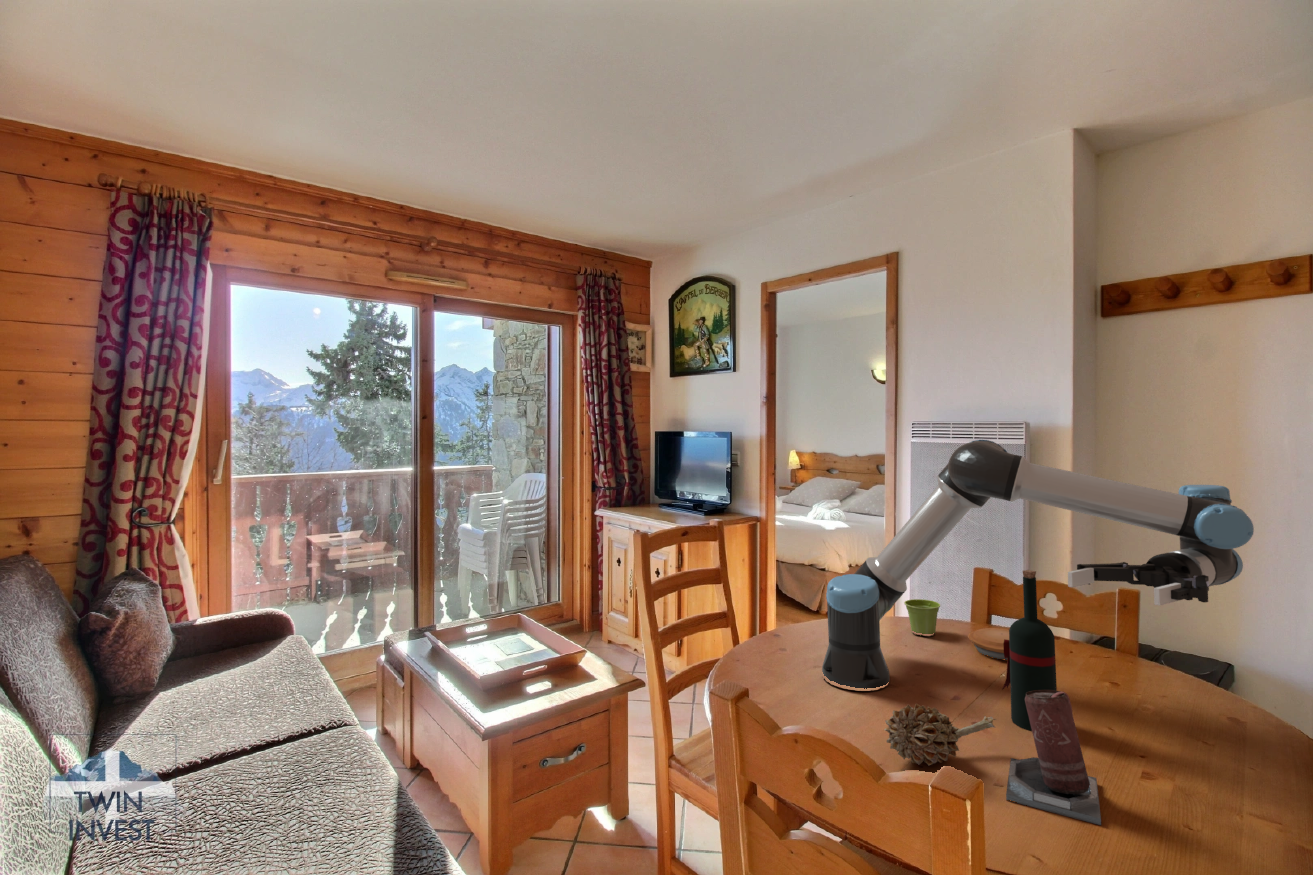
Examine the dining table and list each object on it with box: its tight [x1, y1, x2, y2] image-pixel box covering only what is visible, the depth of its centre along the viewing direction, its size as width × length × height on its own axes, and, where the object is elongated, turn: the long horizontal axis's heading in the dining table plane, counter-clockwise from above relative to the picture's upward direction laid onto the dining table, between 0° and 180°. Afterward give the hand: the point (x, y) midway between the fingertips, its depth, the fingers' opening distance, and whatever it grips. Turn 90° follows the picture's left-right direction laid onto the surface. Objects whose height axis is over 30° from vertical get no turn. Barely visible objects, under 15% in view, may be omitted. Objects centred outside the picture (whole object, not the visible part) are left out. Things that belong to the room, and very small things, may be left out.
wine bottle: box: [1001, 569, 1058, 732], centre depth 119 cm, size 8×10×30 cm
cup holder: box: [1005, 757, 1102, 826], centre depth 96 cm, size 12×12×2 cm
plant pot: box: [903, 598, 941, 634], centre depth 170 cm, size 9×9×9 cm
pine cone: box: [883, 703, 997, 766], centre depth 107 cm, size 22×10×10 cm, turn 109°
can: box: [1025, 690, 1090, 794], centre depth 96 cm, size 6×6×14 cm
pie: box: [967, 627, 1010, 661], centre depth 154 cm, size 15×16×5 cm
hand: (1110, 587), depth 104 cm, fingers open, 13 cm apart
